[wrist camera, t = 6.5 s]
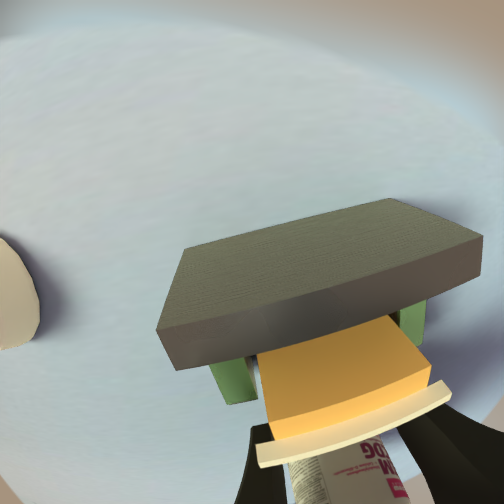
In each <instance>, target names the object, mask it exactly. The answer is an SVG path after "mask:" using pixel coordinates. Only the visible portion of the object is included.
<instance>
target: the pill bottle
mask: <svg viewBox="0 0 504 504" xmlns="http://www.w3.org/2000/svg"><path fill="white" fill-rule="evenodd" d="M288 468H289V472H290V478H291V482H292V487H293V492H294V497H295V501H296V504H411V503H410V500H409V497H408V495H407V493H406V491H405V489H404V487H403V484H402V482H401V480H400V478H399V476H398V474H397V472H396V469H395V467H394V466H393V463H392V461H391V459H390V457H389V455H388V453H387V451H386V449H385V447H384V445H383V443H382V441H381V439H380V436H379V434H378V435H375V436H373V437H370V438H368V439H365V440H362V441H360V442H357V443H354V444H351V445H348V446H345V447H342V448H339V449H336V450H333V451H330V452H326V453H323V454H320V455H316V456H312V457H309V458H305V459H301V460H297V461H293V462H289V463H288Z"/></svg>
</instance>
